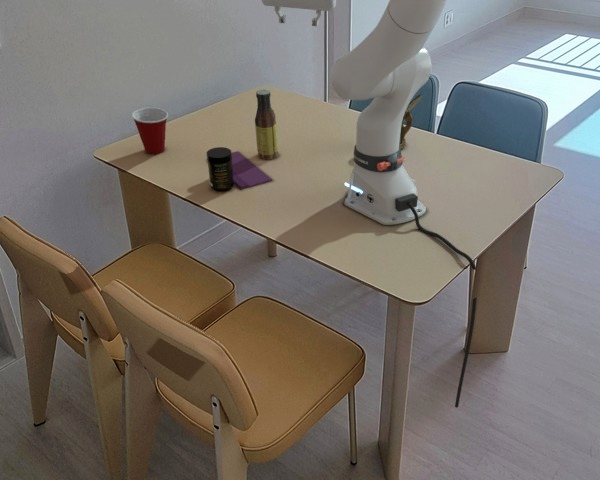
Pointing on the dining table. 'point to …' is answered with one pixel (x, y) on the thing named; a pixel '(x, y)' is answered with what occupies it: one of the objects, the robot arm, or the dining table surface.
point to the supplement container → (220, 169)
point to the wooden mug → (409, 121)
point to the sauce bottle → (265, 126)
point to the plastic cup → (151, 128)
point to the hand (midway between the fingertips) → (298, 24)
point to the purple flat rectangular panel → (246, 172)
